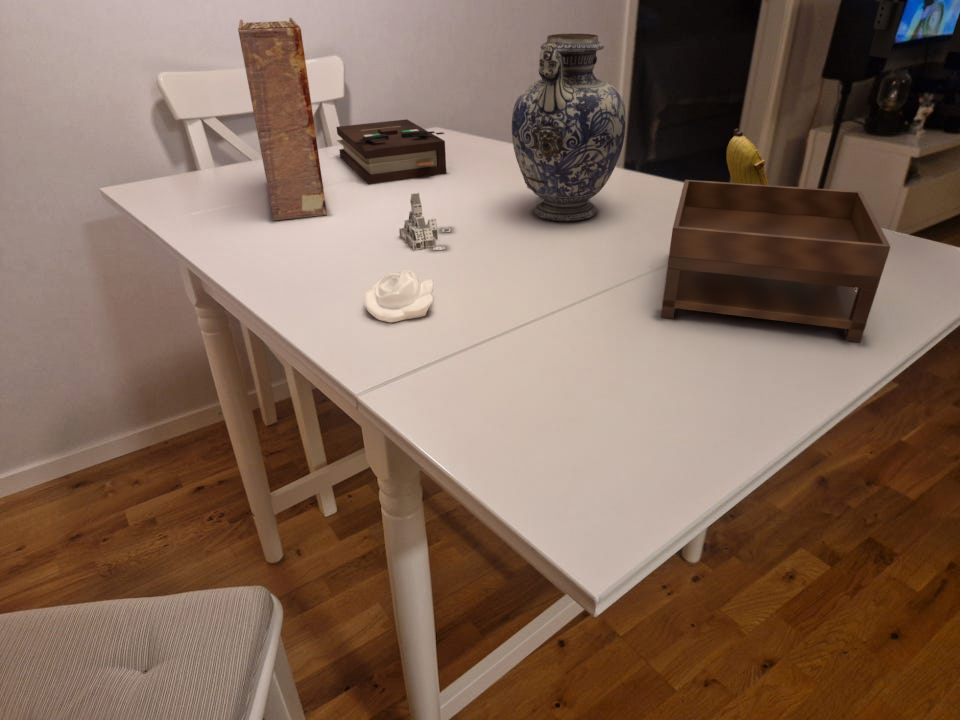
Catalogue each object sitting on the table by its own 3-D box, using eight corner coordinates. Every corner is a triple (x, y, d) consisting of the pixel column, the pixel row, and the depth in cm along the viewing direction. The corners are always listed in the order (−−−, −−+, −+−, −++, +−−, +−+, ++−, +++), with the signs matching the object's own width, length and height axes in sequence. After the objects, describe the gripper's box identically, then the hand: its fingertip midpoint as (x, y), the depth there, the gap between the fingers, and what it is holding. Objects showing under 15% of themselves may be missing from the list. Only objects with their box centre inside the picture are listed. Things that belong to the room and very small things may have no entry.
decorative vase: (536, 190, 127) (539, 28, 113) (631, 200, 120) (648, 29, 106) (490, 224, 110) (488, 40, 96) (598, 239, 103) (612, 43, 89)
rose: (454, 271, 83) (398, 297, 76) (455, 303, 85) (401, 331, 79) (399, 253, 88) (343, 276, 82) (401, 283, 91) (347, 308, 84)
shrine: (718, 231, 105) (735, 134, 98) (712, 214, 112) (727, 123, 105) (794, 234, 104) (817, 136, 96) (783, 217, 110) (804, 124, 103)
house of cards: (469, 245, 102) (467, 196, 99) (416, 254, 100) (412, 205, 96) (449, 227, 110) (446, 181, 106) (399, 235, 107) (394, 189, 103)
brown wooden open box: (838, 274, 90) (862, 191, 84) (860, 342, 74) (890, 246, 68) (673, 257, 97) (684, 179, 91) (660, 317, 80) (672, 227, 74)
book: (270, 183, 135) (239, 19, 120) (315, 178, 137) (291, 17, 122) (274, 221, 114) (237, 29, 99) (327, 215, 116) (300, 26, 101)
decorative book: (408, 113, 157) (454, 138, 133) (410, 145, 161) (455, 175, 137) (328, 121, 150) (361, 149, 127) (332, 155, 154) (365, 188, 131)
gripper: (1026, -133, 85) (965, 46, 96) (869, -137, 79) (823, 55, 90) (1086, -141, 79) (1013, 52, 90) (921, -145, 73) (865, 62, 84)
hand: (918, 54), depth 90 cm, fingers open, 13 cm apart
